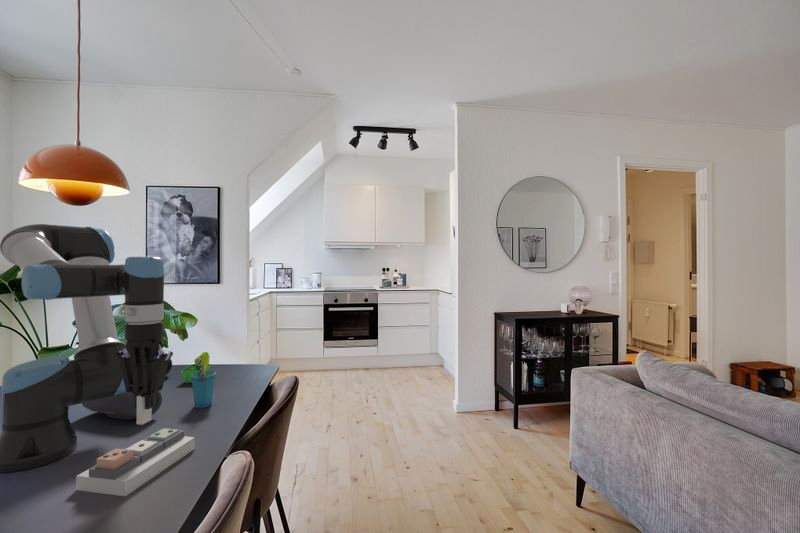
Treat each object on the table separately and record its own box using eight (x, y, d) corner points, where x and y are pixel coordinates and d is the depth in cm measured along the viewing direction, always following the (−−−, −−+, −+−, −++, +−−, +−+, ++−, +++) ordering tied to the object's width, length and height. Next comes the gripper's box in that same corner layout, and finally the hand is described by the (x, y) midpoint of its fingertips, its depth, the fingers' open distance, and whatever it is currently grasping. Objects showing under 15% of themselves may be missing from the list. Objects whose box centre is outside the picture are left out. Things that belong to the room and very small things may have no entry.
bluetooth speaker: (164, 414, 115) (164, 383, 115) (135, 427, 106) (135, 393, 106) (110, 406, 121) (110, 376, 121) (79, 418, 112) (79, 385, 112)
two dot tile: (148, 444, 90) (148, 435, 89) (163, 436, 94) (163, 427, 94) (164, 445, 89) (164, 437, 89) (178, 437, 93) (178, 429, 93)
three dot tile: (96, 468, 77) (96, 458, 77) (116, 457, 81) (116, 447, 81) (114, 470, 76) (114, 459, 76) (133, 459, 80) (133, 449, 80)
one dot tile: (124, 458, 83) (124, 448, 83) (141, 448, 87) (141, 439, 87) (141, 459, 82) (141, 450, 82) (157, 450, 87) (157, 441, 87)
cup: (184, 401, 126) (185, 358, 126) (209, 396, 131) (209, 354, 131) (195, 413, 116) (195, 366, 116) (221, 407, 121) (221, 362, 121)
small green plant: (193, 375, 156) (193, 349, 156) (214, 375, 157) (214, 348, 157) (179, 384, 145) (180, 355, 145) (203, 383, 146) (203, 355, 145)
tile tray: (76, 490, 76) (76, 468, 76) (154, 444, 96) (154, 427, 96) (125, 496, 74) (125, 473, 74) (194, 448, 94) (194, 431, 94)
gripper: (105, 323, 83) (104, 427, 83) (157, 325, 81) (156, 430, 81) (133, 319, 90) (132, 414, 90) (181, 320, 88) (181, 416, 89)
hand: (144, 421), depth 86 cm, fingers closed
